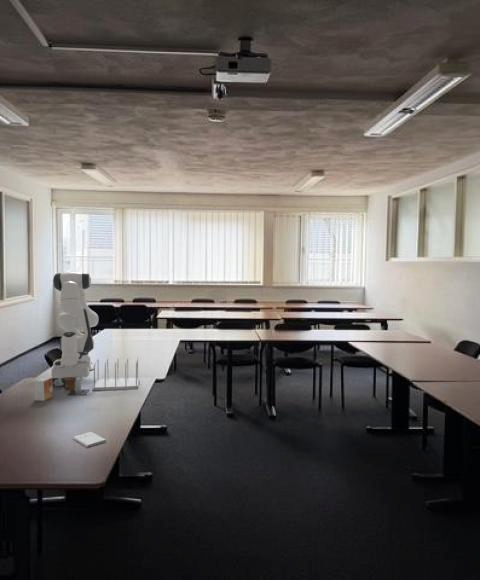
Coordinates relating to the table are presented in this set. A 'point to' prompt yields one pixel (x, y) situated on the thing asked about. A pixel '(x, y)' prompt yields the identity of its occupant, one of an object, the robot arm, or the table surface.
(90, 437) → the external hard drive
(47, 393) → the small box
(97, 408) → the table surface
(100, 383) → the file sorter
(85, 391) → the grey square peg stand
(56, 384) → the chalk box
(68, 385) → the cardboard cube
